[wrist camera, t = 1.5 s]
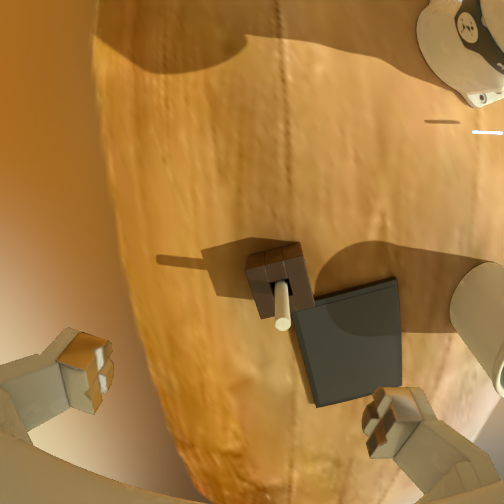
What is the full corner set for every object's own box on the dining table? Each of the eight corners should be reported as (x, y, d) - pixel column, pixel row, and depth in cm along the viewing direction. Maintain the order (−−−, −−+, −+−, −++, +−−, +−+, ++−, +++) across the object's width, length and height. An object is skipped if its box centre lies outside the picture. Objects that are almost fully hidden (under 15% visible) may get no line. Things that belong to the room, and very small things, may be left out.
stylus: (284, 266, 44) (288, 316, 32) (287, 276, 44) (292, 328, 32) (273, 269, 44) (273, 319, 32) (276, 279, 45) (277, 332, 32)
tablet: (394, 276, 43) (397, 279, 42) (400, 382, 50) (402, 385, 49) (288, 303, 46) (289, 307, 45) (315, 404, 53) (316, 408, 52)
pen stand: (299, 242, 43) (303, 255, 38) (311, 289, 45) (315, 306, 40) (247, 255, 44) (244, 269, 39) (262, 301, 46) (260, 319, 41)
